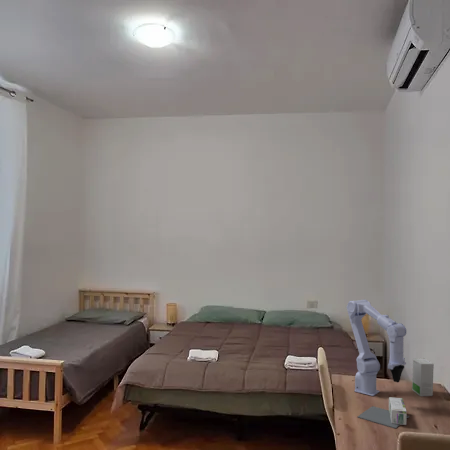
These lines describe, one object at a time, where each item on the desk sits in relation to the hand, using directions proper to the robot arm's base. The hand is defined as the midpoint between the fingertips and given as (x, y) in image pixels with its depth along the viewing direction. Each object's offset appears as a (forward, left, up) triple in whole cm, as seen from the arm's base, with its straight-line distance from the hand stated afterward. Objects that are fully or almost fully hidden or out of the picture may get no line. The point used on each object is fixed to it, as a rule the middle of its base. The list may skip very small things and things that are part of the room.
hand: (396, 381), depth 203 cm
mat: (+1, -17, -10) cm, 20 cm away
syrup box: (+2, -8, -7) cm, 11 cm away
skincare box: (+4, +23, -11) cm, 25 cm away
